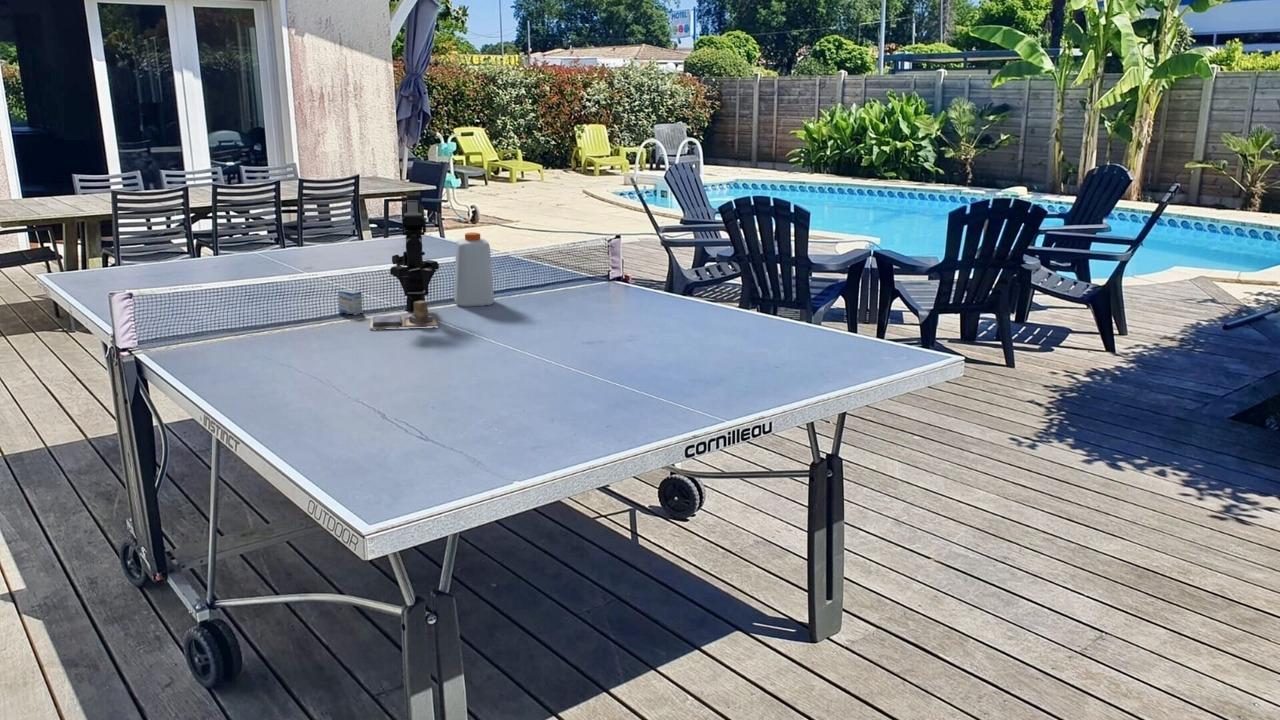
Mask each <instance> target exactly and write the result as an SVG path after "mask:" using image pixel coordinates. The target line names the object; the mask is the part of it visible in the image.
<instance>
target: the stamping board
mask: <svg viewBox="0 0 1280 720" xmlns="http://www.w3.org/2000/svg"><path fill="white" fill-rule="evenodd" d="M409 317H410V316H409ZM409 317H402V316H401V315H376V316H372V318H371V319H370V322H369V323H370V324H369V330H370V329H386V328H399V327H427V326H438V327H439V322H438V317H437V316H432V317H433V322H430V323H426V324H422V325H419V324H415V323H411V322H409Z"/></svg>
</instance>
